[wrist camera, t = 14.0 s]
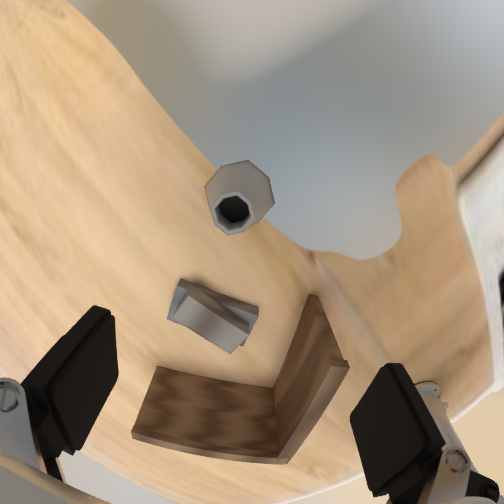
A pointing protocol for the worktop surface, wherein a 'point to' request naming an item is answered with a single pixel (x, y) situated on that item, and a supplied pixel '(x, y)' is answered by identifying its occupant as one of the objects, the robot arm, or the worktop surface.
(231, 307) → the tray
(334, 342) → the brown wooden corner wall
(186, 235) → the worktop surface
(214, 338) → the offcut top
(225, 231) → the flask
